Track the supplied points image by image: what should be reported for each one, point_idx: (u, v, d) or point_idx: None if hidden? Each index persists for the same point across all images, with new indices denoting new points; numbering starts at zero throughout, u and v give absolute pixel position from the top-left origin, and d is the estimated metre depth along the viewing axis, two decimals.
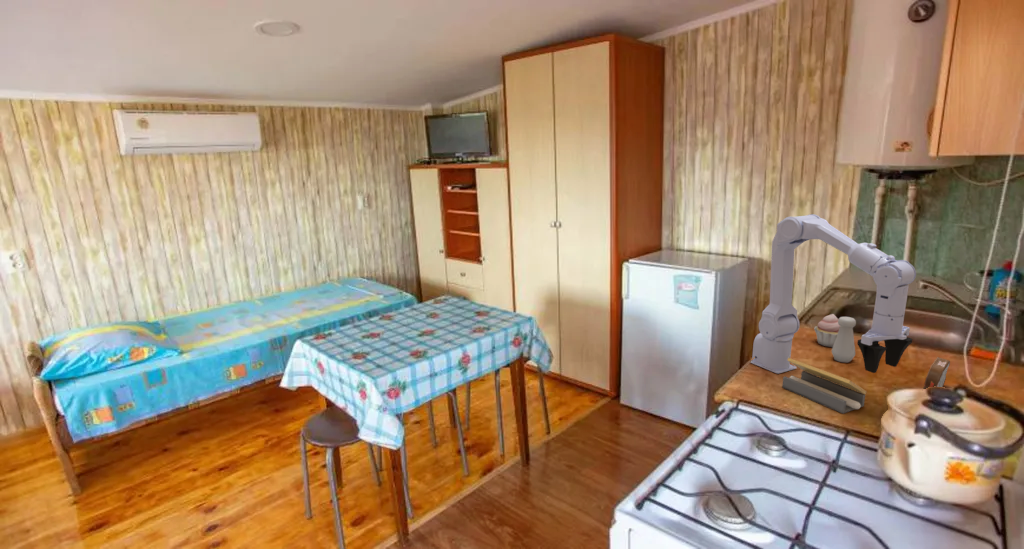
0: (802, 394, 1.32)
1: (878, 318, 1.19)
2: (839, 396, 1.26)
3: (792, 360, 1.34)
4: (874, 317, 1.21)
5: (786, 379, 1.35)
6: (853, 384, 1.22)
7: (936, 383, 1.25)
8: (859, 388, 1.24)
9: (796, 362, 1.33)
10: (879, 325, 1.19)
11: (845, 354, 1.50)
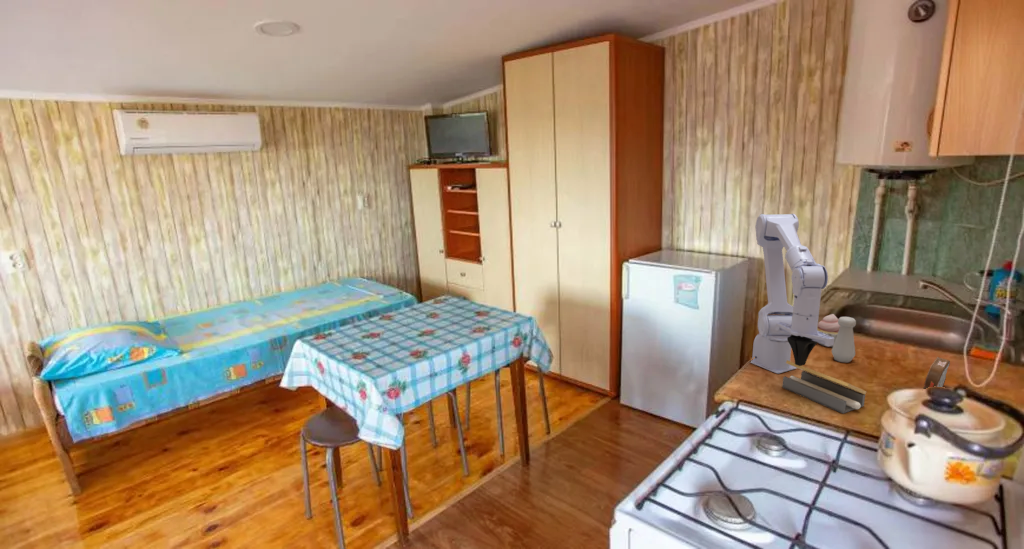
0: (802, 394, 1.32)
1: None
2: (839, 396, 1.26)
3: (791, 363, 1.34)
4: None
5: (786, 379, 1.35)
6: (852, 386, 1.22)
7: (936, 383, 1.25)
8: (858, 389, 1.24)
9: (795, 365, 1.33)
10: None
11: (845, 354, 1.50)
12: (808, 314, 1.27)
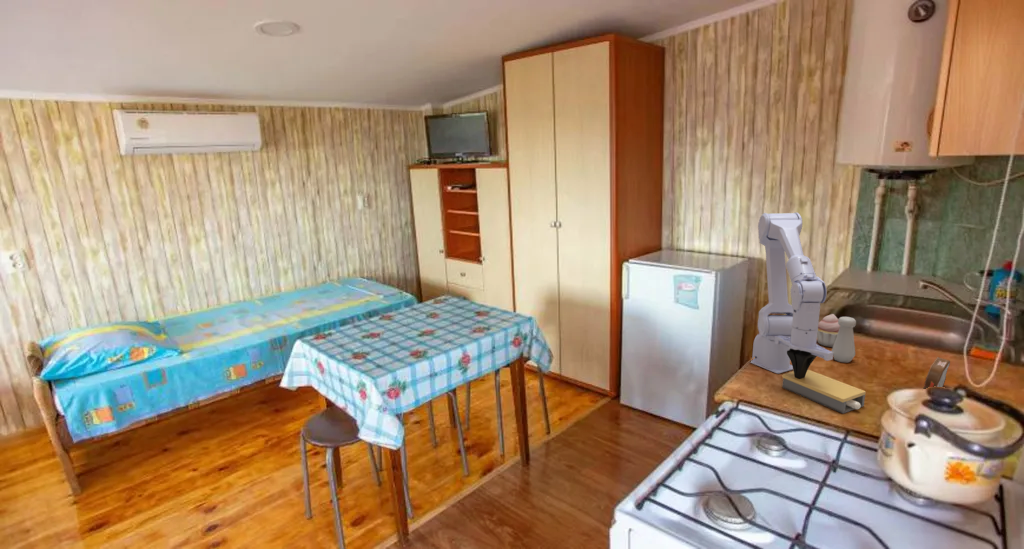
0: (802, 394, 1.32)
1: None
2: None
3: (786, 377, 1.35)
4: None
5: (786, 379, 1.35)
6: (848, 399, 1.22)
7: (936, 383, 1.25)
8: (856, 396, 1.24)
9: (791, 379, 1.34)
10: None
11: (845, 354, 1.50)
12: (807, 328, 1.28)
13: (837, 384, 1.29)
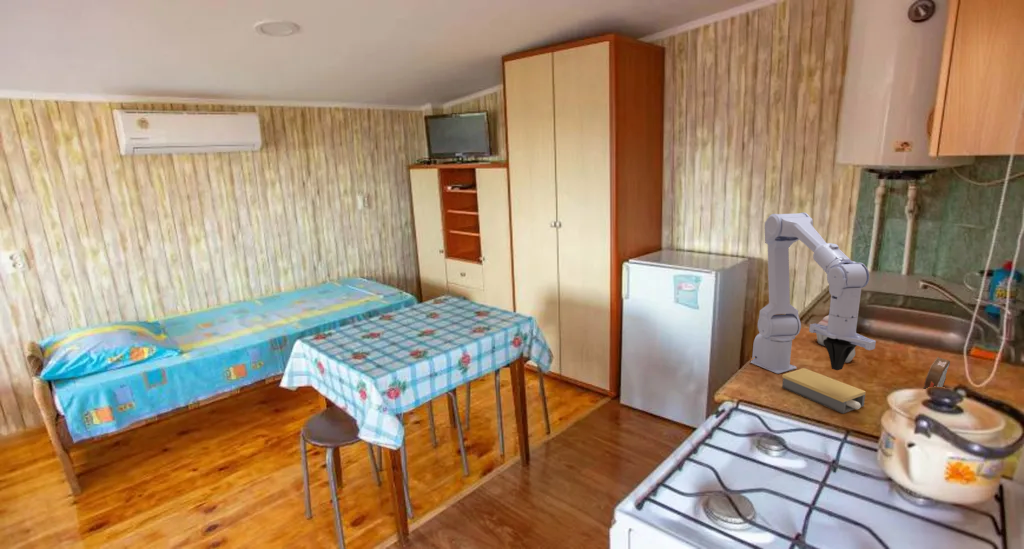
0: (802, 394, 1.32)
1: None
2: None
3: (786, 377, 1.35)
4: None
5: (786, 379, 1.35)
6: (848, 399, 1.22)
7: (936, 383, 1.25)
8: (856, 396, 1.24)
9: (791, 379, 1.34)
10: None
11: None
12: (850, 316, 1.19)
13: (837, 384, 1.29)
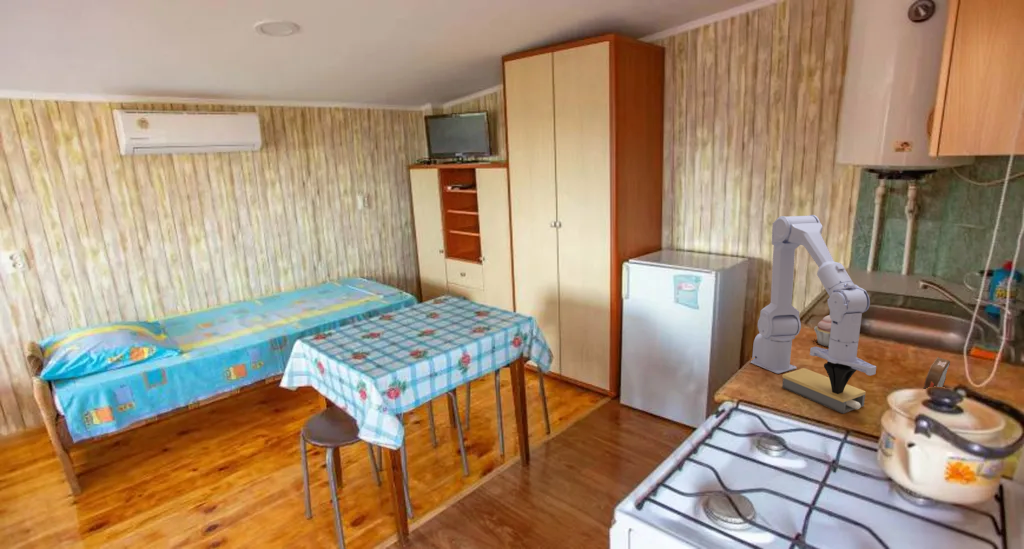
0: (802, 394, 1.32)
1: None
2: None
3: (786, 377, 1.35)
4: None
5: (786, 379, 1.35)
6: (848, 399, 1.22)
7: (936, 383, 1.25)
8: (856, 396, 1.24)
9: (791, 379, 1.34)
10: None
11: None
12: (850, 341, 1.19)
13: None
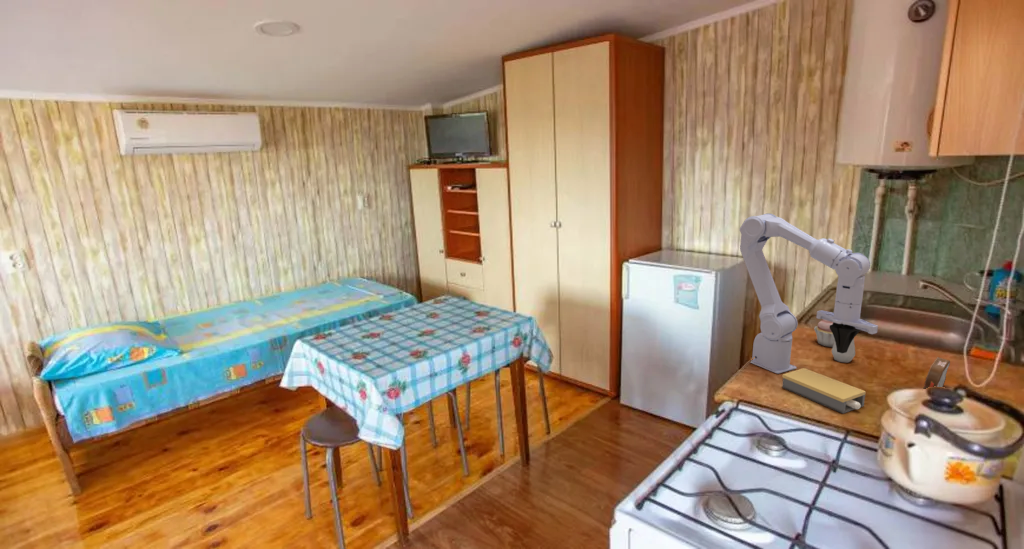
0: (802, 394, 1.32)
1: None
2: None
3: (786, 377, 1.35)
4: None
5: (786, 379, 1.35)
6: (848, 399, 1.22)
7: (936, 383, 1.25)
8: (856, 396, 1.24)
9: (791, 379, 1.34)
10: None
11: (845, 354, 1.50)
12: (860, 302, 1.29)
13: (837, 384, 1.29)
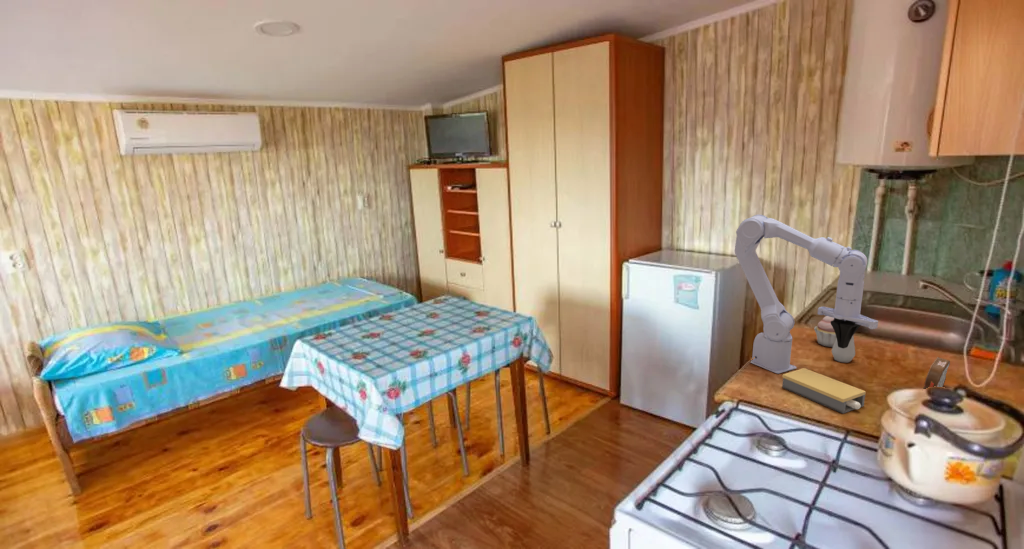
0: (802, 394, 1.32)
1: None
2: None
3: (786, 377, 1.35)
4: None
5: (786, 379, 1.35)
6: (848, 399, 1.22)
7: (936, 383, 1.25)
8: (856, 396, 1.24)
9: (791, 379, 1.34)
10: None
11: (845, 354, 1.50)
12: (861, 297, 1.33)
13: (837, 384, 1.29)
